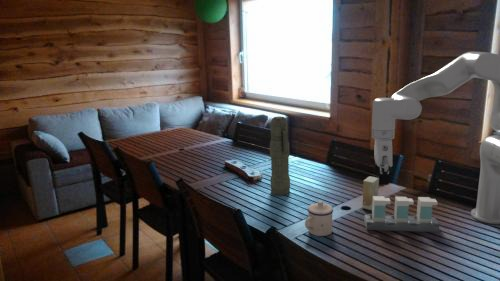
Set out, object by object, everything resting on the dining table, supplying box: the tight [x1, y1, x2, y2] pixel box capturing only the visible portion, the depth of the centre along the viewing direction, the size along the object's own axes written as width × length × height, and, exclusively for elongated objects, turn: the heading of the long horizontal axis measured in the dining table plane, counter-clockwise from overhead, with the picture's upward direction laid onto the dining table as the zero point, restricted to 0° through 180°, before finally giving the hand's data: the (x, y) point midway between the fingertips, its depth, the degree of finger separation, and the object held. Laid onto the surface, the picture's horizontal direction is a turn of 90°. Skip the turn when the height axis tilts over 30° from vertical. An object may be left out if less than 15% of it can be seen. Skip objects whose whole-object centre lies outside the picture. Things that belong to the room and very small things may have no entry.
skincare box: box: [362, 176, 380, 211], centre depth 164 cm, size 6×4×12 cm
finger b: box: [393, 196, 415, 223], centre depth 146 cm, size 6×5×9 cm
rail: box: [363, 213, 441, 233], centre depth 148 cm, size 25×7×3 cm, turn 81°
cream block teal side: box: [416, 196, 438, 223], centre depth 145 cm, size 6×5×9 cm
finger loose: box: [371, 195, 392, 222], centre depth 148 cm, size 6×5×9 cm
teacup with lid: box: [304, 200, 334, 237], centre depth 145 cm, size 12×9×12 cm
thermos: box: [269, 116, 291, 197], centre depth 181 cm, size 9×12×35 cm
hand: (381, 179), depth 145 cm, fingers open, 9 cm apart
